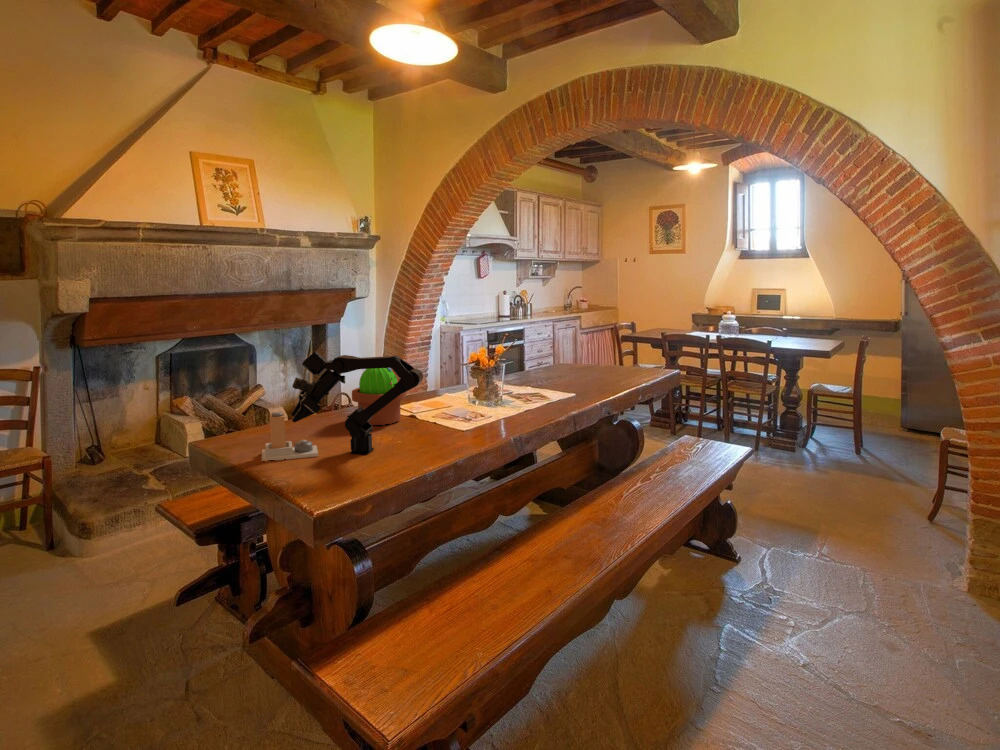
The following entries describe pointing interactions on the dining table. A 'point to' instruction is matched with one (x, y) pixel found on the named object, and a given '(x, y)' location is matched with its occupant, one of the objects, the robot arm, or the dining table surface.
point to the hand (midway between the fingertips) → (292, 418)
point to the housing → (290, 451)
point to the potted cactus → (378, 394)
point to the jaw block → (277, 430)
